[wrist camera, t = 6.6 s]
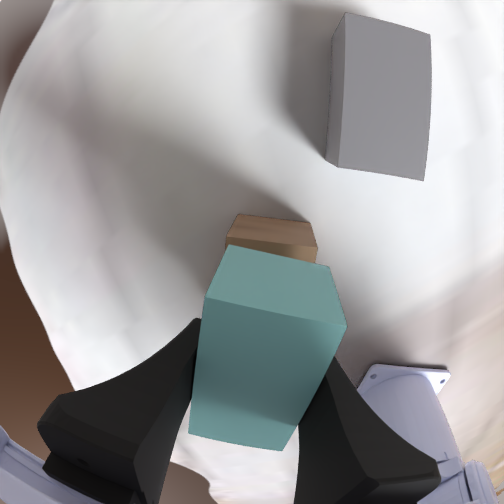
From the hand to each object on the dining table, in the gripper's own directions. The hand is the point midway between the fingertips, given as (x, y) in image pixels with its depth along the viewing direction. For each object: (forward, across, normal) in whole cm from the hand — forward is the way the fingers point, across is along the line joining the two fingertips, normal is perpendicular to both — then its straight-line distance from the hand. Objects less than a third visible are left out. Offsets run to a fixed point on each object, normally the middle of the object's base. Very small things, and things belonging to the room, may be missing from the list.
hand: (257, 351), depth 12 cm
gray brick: (+7, -3, -11) cm, 13 cm away
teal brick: (+2, 0, 0) cm, 2 cm away
